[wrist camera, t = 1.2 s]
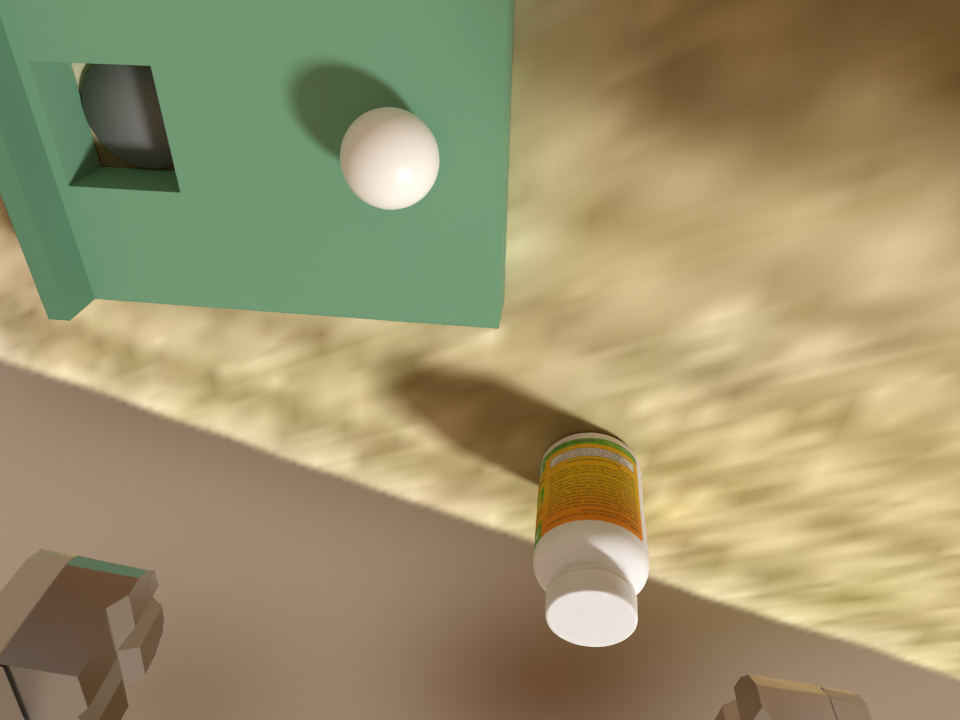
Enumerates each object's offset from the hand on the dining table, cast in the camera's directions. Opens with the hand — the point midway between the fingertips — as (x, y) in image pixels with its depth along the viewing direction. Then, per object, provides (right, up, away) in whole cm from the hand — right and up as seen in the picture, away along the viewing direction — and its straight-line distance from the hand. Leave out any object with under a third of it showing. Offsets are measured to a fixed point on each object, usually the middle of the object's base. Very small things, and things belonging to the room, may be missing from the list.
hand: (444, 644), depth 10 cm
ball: (-3, +11, +16) cm, 20 cm away
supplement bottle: (+7, -2, +29) cm, 30 cm away
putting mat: (-8, +14, +20) cm, 26 cm away
